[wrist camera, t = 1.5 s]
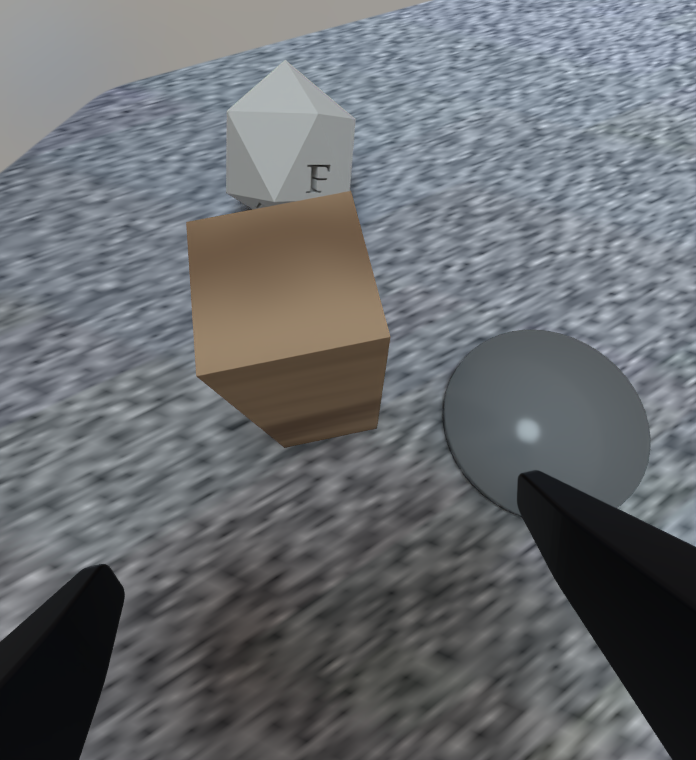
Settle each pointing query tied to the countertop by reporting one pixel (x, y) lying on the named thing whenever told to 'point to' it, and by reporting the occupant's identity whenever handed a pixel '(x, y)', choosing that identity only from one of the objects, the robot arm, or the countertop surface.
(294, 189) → the die
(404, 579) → the countertop surface
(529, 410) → the slate coaster
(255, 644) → the countertop surface
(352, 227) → the walnut block
